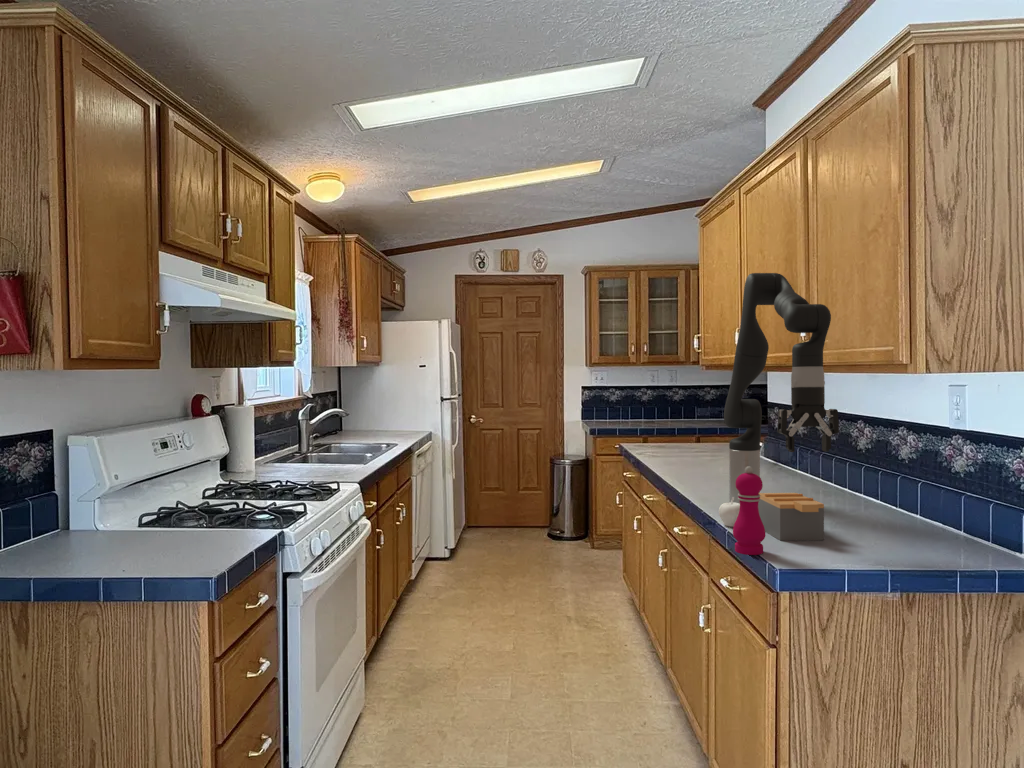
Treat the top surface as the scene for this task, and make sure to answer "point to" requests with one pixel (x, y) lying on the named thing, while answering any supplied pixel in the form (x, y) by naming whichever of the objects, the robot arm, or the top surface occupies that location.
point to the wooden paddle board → (792, 501)
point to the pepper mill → (749, 515)
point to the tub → (791, 522)
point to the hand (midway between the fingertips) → (808, 451)
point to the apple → (729, 512)
